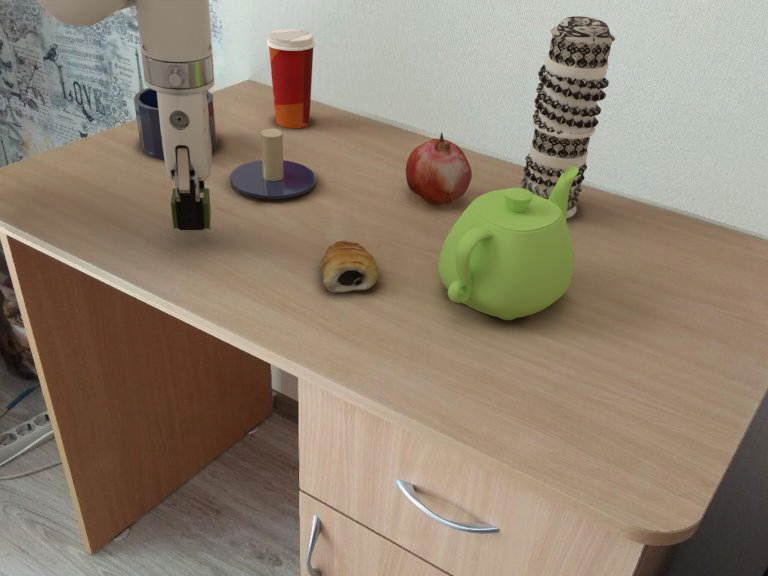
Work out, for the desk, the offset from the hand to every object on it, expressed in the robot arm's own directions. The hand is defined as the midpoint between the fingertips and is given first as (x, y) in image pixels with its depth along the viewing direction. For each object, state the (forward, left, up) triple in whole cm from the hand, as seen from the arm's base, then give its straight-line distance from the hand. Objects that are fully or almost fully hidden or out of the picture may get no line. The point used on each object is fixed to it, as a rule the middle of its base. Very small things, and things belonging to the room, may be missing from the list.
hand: (192, 218), depth 97 cm
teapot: (+37, -14, -3) cm, 40 cm away
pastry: (+19, -10, -3) cm, 21 cm away
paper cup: (+14, +40, -3) cm, 43 cm away
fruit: (+33, +11, -3) cm, 35 cm away
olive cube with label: (0, 0, 0) cm, 0 cm away
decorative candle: (+49, +8, -3) cm, 50 cm away
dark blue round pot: (-4, +30, -3) cm, 30 cm away
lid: (+10, +16, -2) cm, 19 cm away
